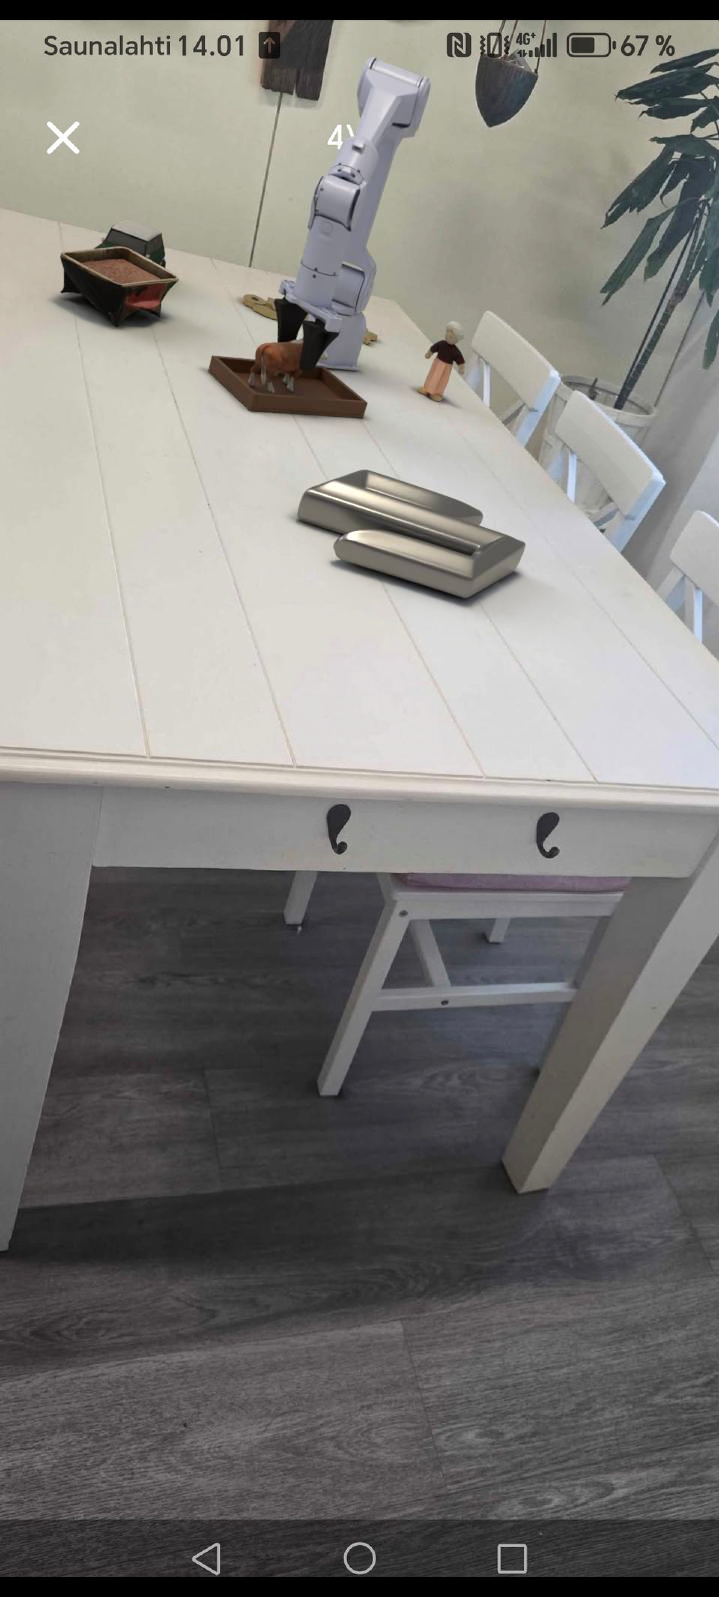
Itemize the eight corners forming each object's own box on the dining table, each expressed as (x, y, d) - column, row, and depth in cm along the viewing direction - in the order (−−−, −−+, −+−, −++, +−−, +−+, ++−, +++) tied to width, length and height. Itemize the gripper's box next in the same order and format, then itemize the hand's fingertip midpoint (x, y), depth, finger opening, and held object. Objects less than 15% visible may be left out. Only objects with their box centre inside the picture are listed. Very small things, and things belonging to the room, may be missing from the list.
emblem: (457, 464, 168) (567, 568, 150) (444, 499, 171) (551, 606, 153) (277, 446, 153) (375, 559, 136) (266, 485, 156) (361, 601, 139)
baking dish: (176, 336, 198) (191, 272, 193) (105, 327, 183) (120, 258, 178) (108, 307, 202) (122, 244, 198) (33, 296, 187) (46, 228, 183)
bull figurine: (320, 394, 189) (337, 343, 184) (254, 395, 180) (270, 341, 175) (302, 381, 191) (318, 330, 186) (237, 380, 182) (252, 327, 177)
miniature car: (82, 276, 201) (90, 226, 196) (118, 256, 216) (126, 209, 211) (133, 295, 201) (142, 245, 197) (166, 274, 216) (175, 227, 211)
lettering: (244, 311, 212) (246, 306, 211) (240, 293, 220) (241, 288, 219) (380, 347, 219) (381, 342, 219) (371, 328, 227) (372, 323, 227)
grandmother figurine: (408, 389, 206) (433, 314, 198) (416, 385, 209) (440, 311, 201) (449, 407, 204) (475, 333, 197) (456, 403, 207) (482, 329, 200)
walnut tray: (319, 380, 195) (323, 365, 194) (363, 417, 188) (367, 402, 186) (207, 371, 183) (211, 354, 182) (250, 410, 176) (254, 393, 174)
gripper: (271, 245, 177) (249, 337, 184) (322, 283, 168) (296, 378, 176) (312, 252, 181) (288, 342, 188) (363, 289, 172) (336, 382, 180)
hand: (294, 360), depth 182 cm, fingers open, 6 cm apart
